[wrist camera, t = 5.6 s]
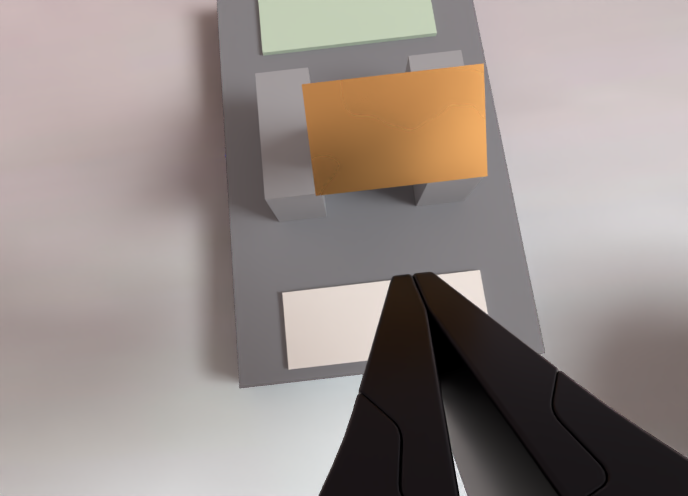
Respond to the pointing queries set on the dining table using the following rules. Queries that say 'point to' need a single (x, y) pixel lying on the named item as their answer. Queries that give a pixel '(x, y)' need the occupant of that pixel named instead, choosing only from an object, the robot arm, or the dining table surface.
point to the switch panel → (351, 207)
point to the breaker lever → (397, 129)
